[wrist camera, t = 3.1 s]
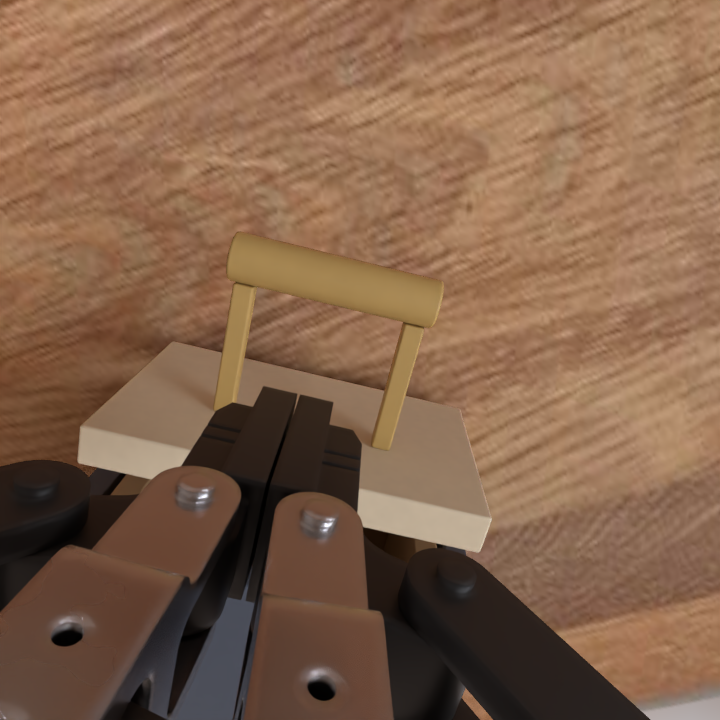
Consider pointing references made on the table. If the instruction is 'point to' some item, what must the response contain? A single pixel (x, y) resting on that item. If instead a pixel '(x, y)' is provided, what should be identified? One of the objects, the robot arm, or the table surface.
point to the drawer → (351, 401)
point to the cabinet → (225, 653)
